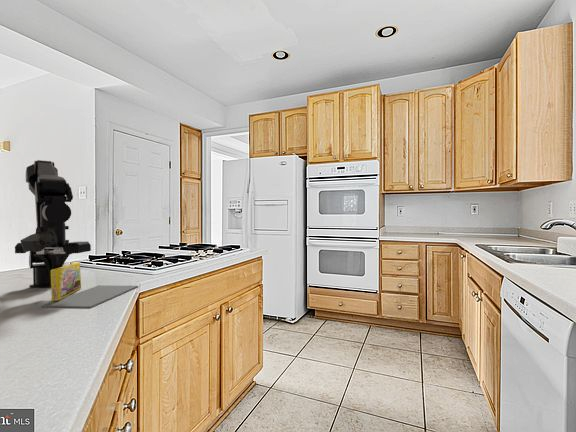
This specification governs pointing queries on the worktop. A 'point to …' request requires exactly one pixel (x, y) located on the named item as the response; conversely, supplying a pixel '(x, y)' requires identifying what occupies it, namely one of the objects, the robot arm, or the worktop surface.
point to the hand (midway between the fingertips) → (54, 277)
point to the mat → (90, 297)
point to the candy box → (65, 281)
